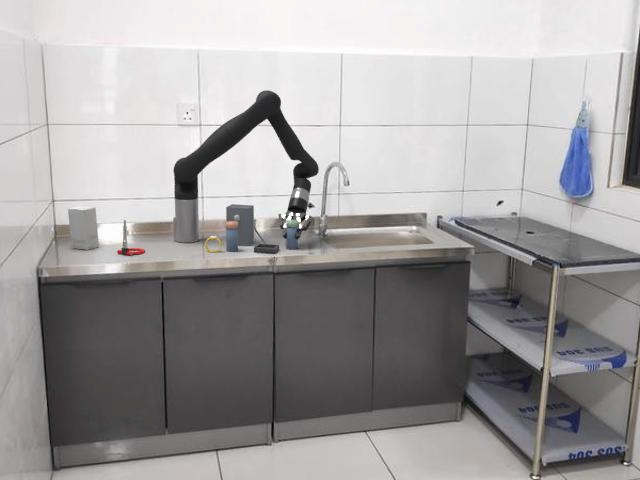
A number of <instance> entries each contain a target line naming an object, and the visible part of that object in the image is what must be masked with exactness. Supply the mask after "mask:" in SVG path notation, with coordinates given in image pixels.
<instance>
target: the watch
mask: <svg viewBox="0 0 640 480" xmlns="http://www.w3.org/2000/svg"><path fill="white" fill-rule="evenodd" d="M209 240H216V241H218V242H219V248H218V249H217V250H210V249H209V248H208V244H207V243H208V241H209ZM204 243H205V245H204V246H205V247H204V248H205V250H206V251H208V253H218V252H220V250H221V248H222V242H221V240H220V239H219V238H218V236H216V235H211V236H209V237H208V238H207V239H206V240H205V242H204Z"/></svg>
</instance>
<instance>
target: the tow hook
mask: <svg viewBox="0 0 640 480" xmlns="http://www.w3.org/2000/svg"><path fill="white" fill-rule="evenodd" d="M122 230H123V231H122V234H123V235H122V238H123V240H122V247H121V248H120V249H117V252H116V253H117V254H119V255H123V256H129V257H132V256H133V255H142V254H143V255H144V254H145V253H146V249H144V248H139V247H128V240H127V238H128V237H127V233H128V231H127V230H128V227H127V220H125V219H124V220H123V226H122Z"/></svg>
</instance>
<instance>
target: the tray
mask: <svg viewBox="0 0 640 480" xmlns="http://www.w3.org/2000/svg"><path fill="white" fill-rule="evenodd" d="M278 250H279V251H280V244H270V243H258V244H257V245H255V246H254V247H253V253H254V254H255V253H256V254H268V255H275V254H276V253H277V252H278Z"/></svg>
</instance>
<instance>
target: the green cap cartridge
mask: <svg viewBox="0 0 640 480" xmlns="http://www.w3.org/2000/svg"><path fill="white" fill-rule="evenodd" d="M285 223H286V239H285V241H286V243H285V244H286V245H285V246H286V248H285V249H286V250H289V251H290V250H292V251H293V250H298V248H299V247H298V245H299V244H298V243H299V242H298V241H299V239H296V233H297V229H298V220H287V219H286V220H285Z"/></svg>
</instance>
